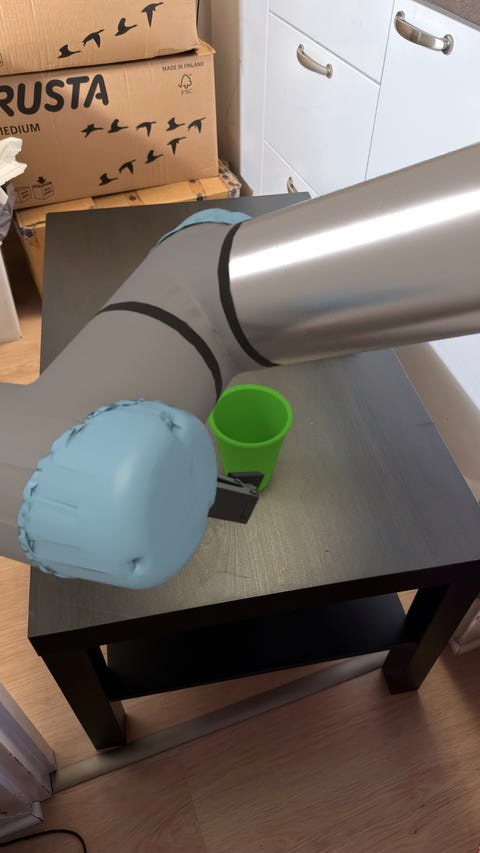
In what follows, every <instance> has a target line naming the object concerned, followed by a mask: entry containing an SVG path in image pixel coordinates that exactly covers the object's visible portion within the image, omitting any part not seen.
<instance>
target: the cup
mask: <svg viewBox="0 0 480 853" xmlns="http://www.w3.org/2000/svg"><path fill="white" fill-rule="evenodd" d="M207 422H208V425H209V427H210V429H211V431H212V432H213V434H214V436H215V440H216V444H217V449H218V452H219V455H220V460H221V463H222V467H223V471H224V474H225V475H224V476H227V474H228V472H247V471H259V472H261V473H263V474H265V476H264V478H263V480H262V482H261V484H260V486H259V489H258V491H257V493H258V492H260V491H262V490H263V489H265V488H266V487H267V485H268V484H269V483H270V480H271V477H272V475H273V472H274V469H275V465H276V463H277V460H278V458H279V454H280V451H281V449H282V445H283V443H284V440H285V437H286V435H287V434H288V433H289V431H290V430H291V428H292V425H293V423H294V413H293V409H292V406H291V405H290V403H289V401H288V400H287V399H286V397H284V396H283V395H282V394H281V392H278V391H276V390H275V389H273V388H271V387H267V386H264V385H260V384H255V383H253V384H251V383H250V384H249V383H248V384H240V385H239V384H238V385H234V386H231V387H229V388H226V389H225V391H224V392H223V394H222V395H221V397H220V398H219V400H218V402H217V404H216V406H215V407H214V409H213V411H212V412H211V414H210V416H209V417H208V419H207Z"/></svg>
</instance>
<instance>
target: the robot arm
mask: <svg viewBox="0 0 480 853" xmlns="http://www.w3.org/2000/svg"><path fill="white" fill-rule="evenodd" d="M479 334H480V140H479V141H475V142H473V143H469V144H467V145H464V146H461V147H459V148H455V149H453V150H450V151H446V152H444V153H440V154H438V155H435V156H431V157H428V158H426V159H423V160H420V161H417V162H414V163H411V164H409V165H406V166H402V167H399V168H397V169H394V170H391V171H388V172H385V173H382V174H379V175H376V176H373V177H371V178H368V179H364V180H361V181H357V182H356V183H353V184H350V185H347V186H344V187H341V188H337V189H336V190H332V191H330V192H326V193H324V194H321V195H317V196H315V197H311V198H309V199H306V200H303V201H300V202H297V203H295V204H292V205H289V206H285V207H282V208H280V209H277V210H274V211H271V212H268V213H265V214H262V215H259V216H256V217H252V216H250V215H248V214H246V213H244V212H240V211H234V210H233V211H232V210H229V209H222V208H220V207H217V208H208V209H204V210H201V211H198V212H196V213H193V214H191V215H190V216H188V217H187V218H186V219H184V220H183V221H182V222H181V223H180V224H179V225H178V226H177V227H176V228H174V229H173V230H171V231H169V232H167V233H166V234H164V235H163V236H162V237H161V238H160V239H159V240H158V242H157V243H156V244H155V246H154V247H151V249H150V251H149V253H148V254H147V256H146V258H144V260H143V261H142V262H141V263H140V264H139V265H138V266H137V267H136V268H135V270H134V271H133V272H132V273H131V274H130V275H129V276H128V278H127V279H126V280H125V281H124V282H123V283H122V284H121V285H120V286H119V288H118V289H117V290H116V291H115V293H113V295H111V297H110V298H109V299H108V301H106V303H104V305H103V306H102V307H101V308H100V309H99V311H97V313H96V314H95V315H94V316H92V318H90V320H89V321H88V323H87V324H86V325H85V326H84V327H83V328H82V329H81V331H79V333H78V334H77V335H75V337H74V338H73V339H72V340H71V341H70V342H69V344H67V345H66V347H65V348H64V349H63V350H61V352H60V353H58V355H57V356H56V357H55V358H54V360H53V361H52V362H51V363H50V364H49V365H48V366H47V368H45V370H43V372H42V373H41V374H40V375H39V376H38V377H37V378H36V379H35V380H33V381H31V382H30V383H28V384H24V383H23V384H22V383H14V382H5V381H0V557H2V558H5V559H9V560H12V561H15V562H18V563H21V564H25V565H29V566H31V567H34V568H38V569H39V570H40V571H42V572H43V573H47V574H50V575H51V574H52V575H54V576H56V577H59V578H61V579H73V580H75V579H81V580H86V581H91V582H96V583H101V584H106V585H111V586H116V587H120V588H126V589H128V590H129V589H130V590H146V589H151V588H156V587H158V586H160V585H163V584H165V583H166V582H169V581H170V580H171V579H173V578H174V577H175V576H177V575H178V574H179V573H180V572H181V571H182V570H183V569H184V568H185V567H186V566H187V565H188V563H190V561H191V560H192V558H193V556H194V555H195V554H196V552H197V551H198V549H199V547H200V545H201V543H202V541H203V539H204V536H205V534H206V532H207V529H208V518H211V519H216V520H221V521H227V522H232V523H236V524H242V525H248V524H249V520H250V519H251V516H252V514H253V512H254V510H255V508H256V506H257V504H258V503H259V502H258V501H259V499H260V498H261V495H260V494H259V493H258V492H259V491H258V489H259V486H260V484H261V482H262V480H263V478H264V476H265V474H263V473H261V472H259V471H247V472H228V474H227V476H226V475H224V474H222V473H218V461H217V455H216V449H215V445H214V441H213V438H212V437H211V434H210V433H209V430H208V429H207V427H206V426H205V424H206V422H208V417H209V416H210V414H211V412H212V411H213V409H214V407H215V406H216V404H217V402H218V400H219V398H220V397H221V395H222V394H223V392H224V391H225V390H226V389H228V386H229V384H230V382H231V381H232V380H233V379H234V378H235V377H236V376H238V375H240V374H242V373H248V372H255V371H261V370H267V369H270V368H274V367H281V366H288V365H293V364H294V365H295V364H300V363H306V362H312V361H319V360H325V359H331V358H337V357H343V356H350V355H354V354H355V355H357V354H363V353H369V352H374V351H381V350H387V349H393V348H399V347H404V346H411V345H418V344H423V343H429V342H435V341H436V342H437V341H442V340H448V339H454V338H461V337H467V336H474V335H479ZM257 491H258V492H257Z"/></svg>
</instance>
